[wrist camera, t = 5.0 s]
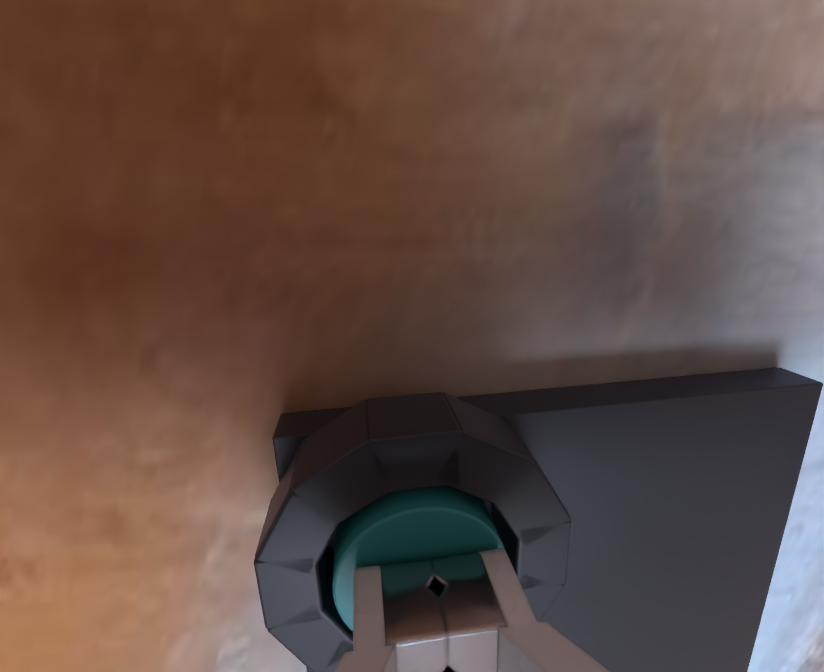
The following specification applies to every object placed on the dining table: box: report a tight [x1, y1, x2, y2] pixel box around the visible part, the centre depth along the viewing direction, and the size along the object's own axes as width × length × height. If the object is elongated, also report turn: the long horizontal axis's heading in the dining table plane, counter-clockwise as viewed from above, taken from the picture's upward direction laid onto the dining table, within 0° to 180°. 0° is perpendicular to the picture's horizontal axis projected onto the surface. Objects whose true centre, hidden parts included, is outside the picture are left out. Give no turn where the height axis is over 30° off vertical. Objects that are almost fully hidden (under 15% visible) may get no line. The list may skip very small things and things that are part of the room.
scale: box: [254, 368, 823, 672], centre depth 11 cm, size 14×13×3 cm
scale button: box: [332, 485, 506, 631], centre depth 9 cm, size 4×4×2 cm
